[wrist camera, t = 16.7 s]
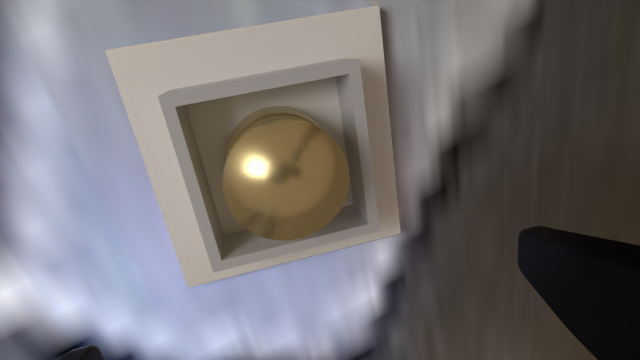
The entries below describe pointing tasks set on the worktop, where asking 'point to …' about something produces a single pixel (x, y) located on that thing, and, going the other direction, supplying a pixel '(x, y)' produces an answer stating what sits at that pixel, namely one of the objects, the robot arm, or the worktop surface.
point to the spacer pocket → (241, 100)
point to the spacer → (283, 174)
